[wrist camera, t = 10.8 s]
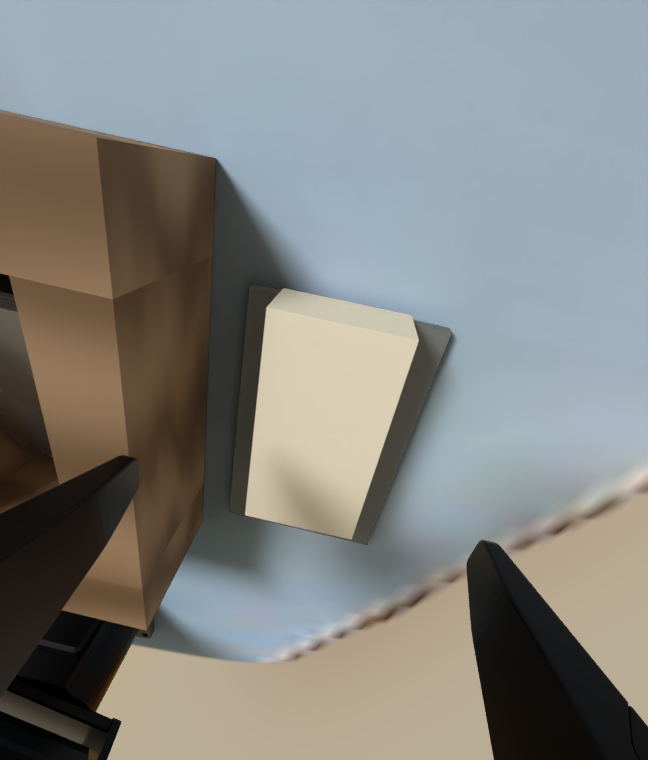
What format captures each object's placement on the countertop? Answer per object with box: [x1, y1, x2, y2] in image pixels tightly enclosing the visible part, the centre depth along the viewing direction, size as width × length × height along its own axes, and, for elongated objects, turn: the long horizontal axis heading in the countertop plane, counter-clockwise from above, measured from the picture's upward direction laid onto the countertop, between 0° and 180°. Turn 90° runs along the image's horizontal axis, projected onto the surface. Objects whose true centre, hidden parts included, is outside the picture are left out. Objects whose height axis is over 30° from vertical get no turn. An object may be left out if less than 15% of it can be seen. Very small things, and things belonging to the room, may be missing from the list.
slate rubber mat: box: [229, 284, 452, 545], centre depth 17 cm, size 13×8×1 cm, turn 169°
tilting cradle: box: [0, 292, 53, 459], centre depth 14 cm, size 11×6×1 cm, turn 169°
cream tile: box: [245, 288, 419, 540], centre depth 15 cm, size 10×5×2 cm, turn 170°
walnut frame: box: [0, 110, 216, 631], centre depth 14 cm, size 19×12×6 cm, turn 169°
